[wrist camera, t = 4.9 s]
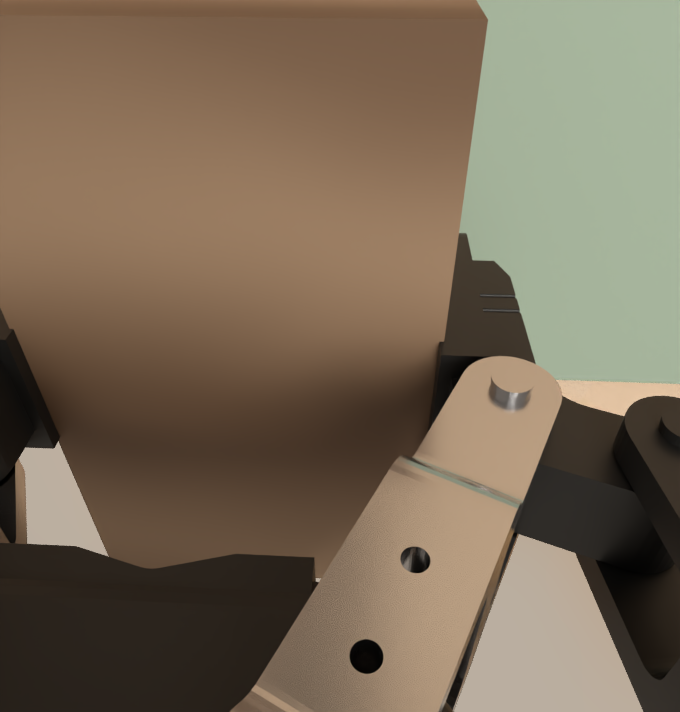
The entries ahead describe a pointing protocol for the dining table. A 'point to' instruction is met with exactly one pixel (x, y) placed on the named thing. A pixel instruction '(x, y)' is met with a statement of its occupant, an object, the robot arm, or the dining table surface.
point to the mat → (583, 181)
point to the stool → (233, 253)
